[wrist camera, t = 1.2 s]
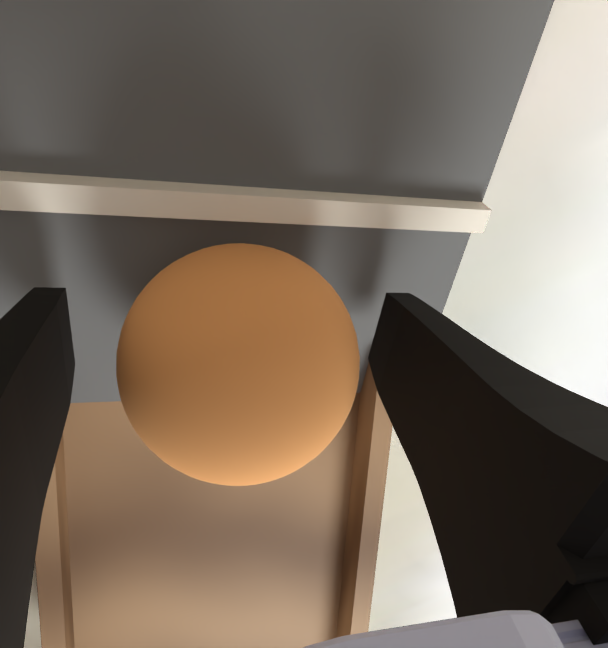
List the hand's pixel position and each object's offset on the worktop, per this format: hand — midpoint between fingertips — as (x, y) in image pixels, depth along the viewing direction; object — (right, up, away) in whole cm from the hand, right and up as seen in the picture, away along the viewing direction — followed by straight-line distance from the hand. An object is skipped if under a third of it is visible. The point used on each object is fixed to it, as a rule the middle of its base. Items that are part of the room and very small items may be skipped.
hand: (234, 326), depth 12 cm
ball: (0, -1, -1) cm, 1 cm away
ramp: (-2, -6, +7) cm, 9 cm away
